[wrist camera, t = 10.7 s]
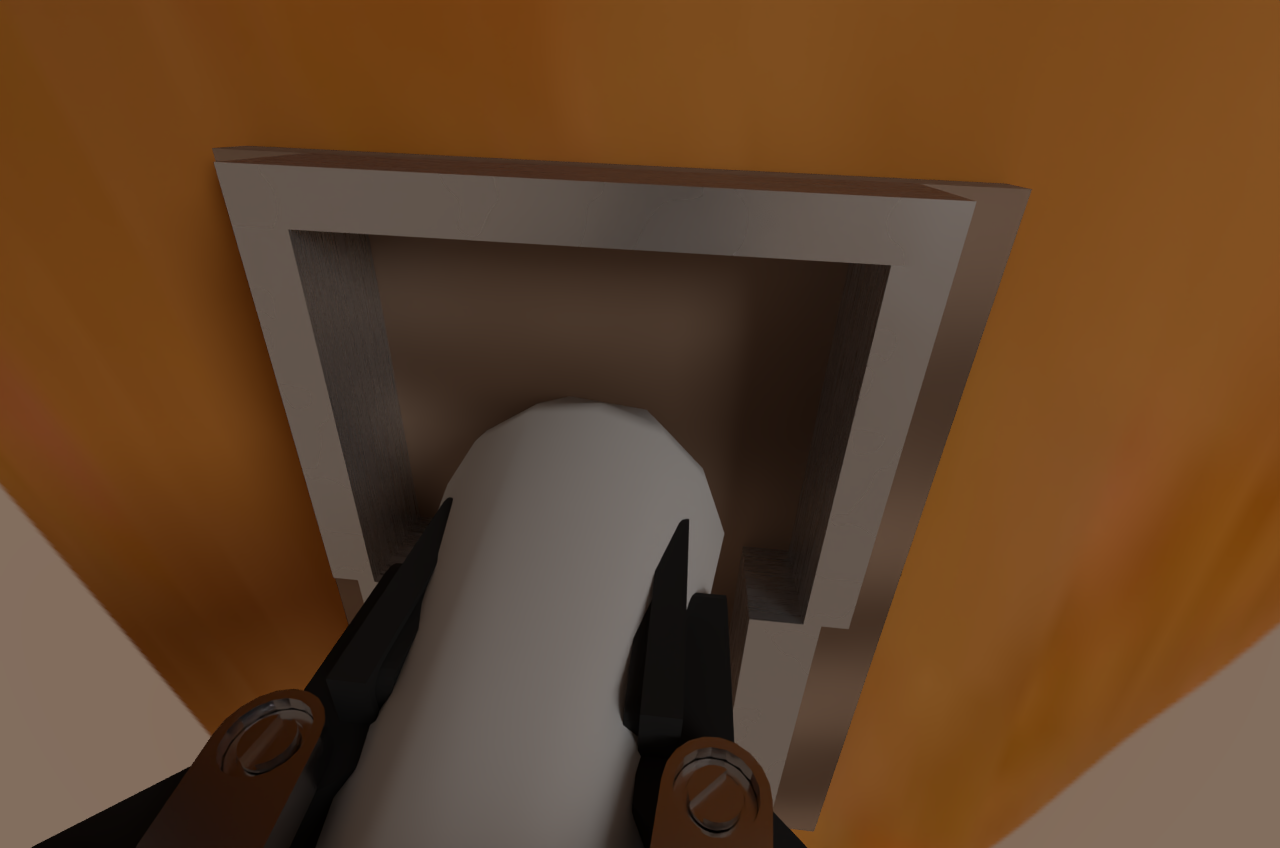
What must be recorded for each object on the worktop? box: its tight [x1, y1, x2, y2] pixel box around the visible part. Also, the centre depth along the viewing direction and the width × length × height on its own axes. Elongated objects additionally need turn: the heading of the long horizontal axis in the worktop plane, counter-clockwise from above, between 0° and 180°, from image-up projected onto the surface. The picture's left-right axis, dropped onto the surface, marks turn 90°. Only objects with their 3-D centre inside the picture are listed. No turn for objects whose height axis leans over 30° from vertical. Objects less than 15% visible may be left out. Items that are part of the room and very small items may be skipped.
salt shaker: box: [315, 396, 724, 848], centre depth 8 cm, size 6×6×13 cm
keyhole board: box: [212, 146, 1032, 831], centre depth 17 cm, size 22×16×1 cm
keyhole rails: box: [214, 153, 977, 806], centre depth 15 cm, size 22×12×2 cm, turn 178°
